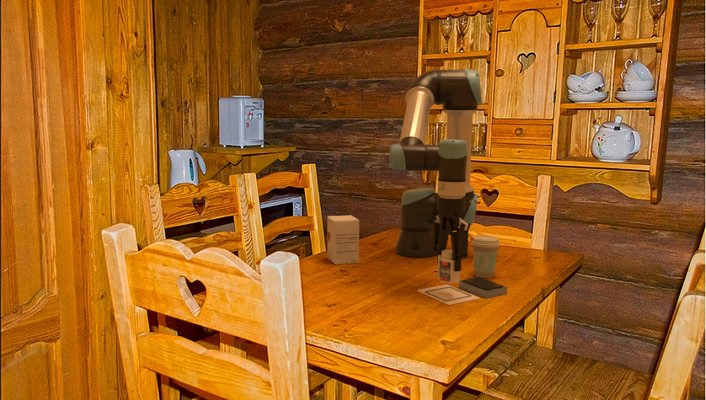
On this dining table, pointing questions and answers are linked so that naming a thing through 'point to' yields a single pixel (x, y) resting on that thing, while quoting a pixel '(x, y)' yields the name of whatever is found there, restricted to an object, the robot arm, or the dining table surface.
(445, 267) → the pill bottle
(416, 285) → the dining table surface
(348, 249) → the supplement box
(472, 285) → the ink pad
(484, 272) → the coffee cup
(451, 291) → the print card
